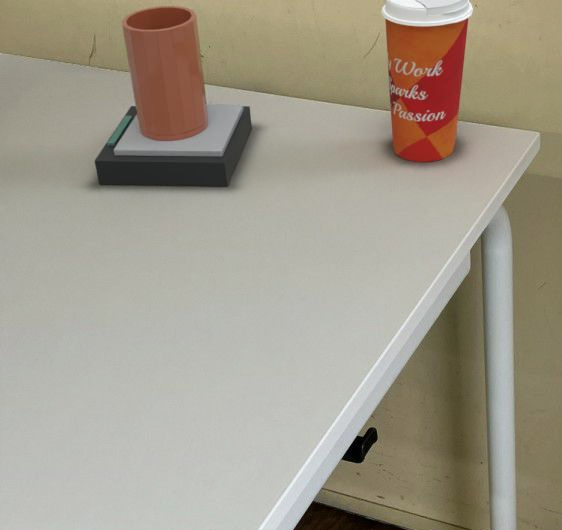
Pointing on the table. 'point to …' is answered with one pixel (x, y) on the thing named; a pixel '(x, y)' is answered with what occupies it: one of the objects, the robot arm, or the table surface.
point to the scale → (176, 152)
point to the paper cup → (425, 74)
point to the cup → (166, 72)
